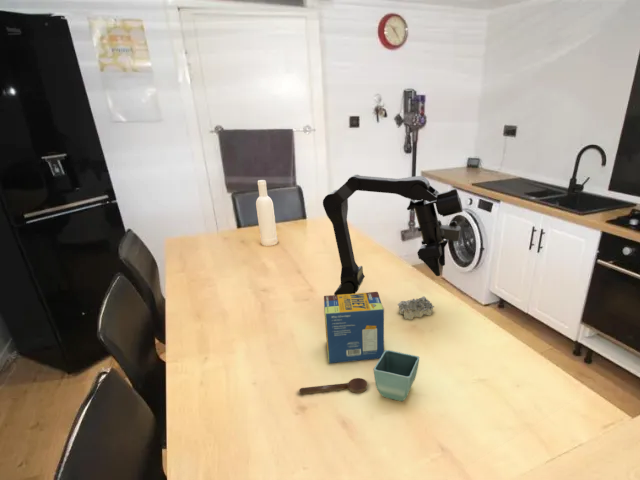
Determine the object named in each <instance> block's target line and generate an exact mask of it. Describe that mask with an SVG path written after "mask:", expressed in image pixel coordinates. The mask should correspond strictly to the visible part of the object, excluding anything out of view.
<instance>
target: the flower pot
mask: <svg viewBox="0 0 640 480" xmlns="http://www.w3.org/2000/svg"><path fill="white" fill-rule="evenodd" d="M419 363H420V356H418V355H415V354H409V353H404V352H400V351H395V350H390V349H384V353H383V354H382V356H381V358H379V359H378V360H377V362H376V364H375V366H374V367H373V376H374V382H375V387H376V389H377V391H378V393H379V394H380V395H381V396H382V397H383V398H387V399H390V400H394V401H399V402H404V401H405V400H406V399H407V397H408V395H409V393H410V391H411V388H412V387H413V384H414V382H415V379H416V377H417V373H418V368H419Z"/></svg>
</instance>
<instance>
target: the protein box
mask: <svg viewBox="0 0 640 480" xmlns="http://www.w3.org/2000/svg"><path fill="white" fill-rule="evenodd" d="M323 307H324V311H323V312H324V325H325V339H326V350H327V359H328V361H327V362H328V364H337V363H346V362H357V361H367V360H377V359H378V360H379V359H380V358H381V356H382V354H383V353H384V351H385V308H384V306H383V303H382V300H381V298H380V294H379V292H378V291H371V292H370V291H369V292H356V293H355V294H342V295H335V294H332V295H331V294H330V295H324V296H323Z"/></svg>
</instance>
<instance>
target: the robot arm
mask: <svg viewBox="0 0 640 480" xmlns="http://www.w3.org/2000/svg"><path fill="white" fill-rule="evenodd" d="M357 191H359V192H360V191H361V192H371V193H372V192H373V193H382V194H394V195H398V196H401V197H403V198H405V199H409V200H410V201H409V204H408V206H407V208H406V210H407V211H410V210H414V213H415V216H416V220H417V224H418V227H417V231H418V232H420V236H421V239H422V240H421V246H420V247H419V249H418V251H417V253H416V254H417V257H418V259H419V260H420V261H423V263H424V264H425V265H426V266H427V267H428V268H429V269H430V271H431V272H432V273H433V274H434V275H435V276H436V277H440V276H441V267H445V266H446V247H447V244H448V243H449V240H450V241H453V242H458V241H459V240H460V237H461V231H462V227H461V225H459V224H458V222H457V221H456V220H451V221H450V223H449V224H443V223H442V221H441V220H440V219H439V218H438V215H440V216H442V217H443V218H444V217H448V216H452V215H457V214H460V213H463V204H462V200H461V199H462V198H461V197H460V196H459V192H458V189H457V188H455V187H454V188H451V189H449V190H447V191H442V192H440V191H438V190H437V189H436V188H434V187H433V186H432V185H431V184H430V181H429V180H428V179H427V177H426V176H423V175H415V176H407V177H401V178H393V177H380V176H368V175H360V174H353V175H352V176H350V177H348V179H347V181H346V182H345V183H344V184H342V186H340V187H339V188H338V189H334V190H332V191H331V192H330V193H328V194H327V195H326V196H325V197H323V199H322V207H323V210H324V212H325V214H326V217H327V219H329V221H330V222H331V224H332V228H333V233H334V238H335V243H336V246H337V251H338V256H339V260H340V265H341V270H340V284H339V285H338V287H337V288H336V290H335V291H334V293H333V295H342V294H356V293H358V291H359V289H360V287H361V286H362V284H363V282H364V278H365V275H364V268H363V265H360V266H359V265H358V264H357V262H356V259H355V254H354V250H353V244H352V239H351V234H350V229H349V225H348V211H349V198H350V197H351V196H352V195H353V194H354V193H356V192H357ZM437 214H438V215H437ZM440 266H441V267H440Z"/></svg>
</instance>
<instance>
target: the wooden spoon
mask: <svg viewBox="0 0 640 480" xmlns="http://www.w3.org/2000/svg"><path fill="white" fill-rule="evenodd" d="M367 389H368V382H367V380H366V379H364V378H361V377H356V378H353V379H350V381H348V382H345V383H335V384H326V385H325V384H324V385H316V386H307V387H301V388H299V389H298V393H299V394H301V395H305V394H313V393H323V392H332V391H340V390H349V392H351V393H353V394H361V393H364V392H365V391H367Z"/></svg>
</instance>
